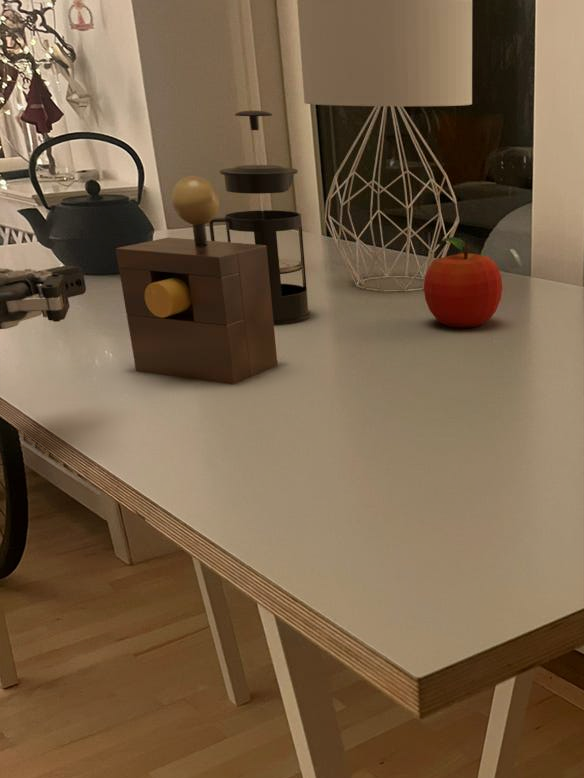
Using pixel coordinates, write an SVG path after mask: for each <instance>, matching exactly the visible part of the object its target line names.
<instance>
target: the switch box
mask: <svg viewBox="0 0 584 778" xmlns="http://www.w3.org/2000/svg"><path fill="white" fill-rule="evenodd" d="M171 201H172V207H173V209H174V211H175V212H176V214H177V216H178V217H179V218H180V219H181V220H182V221H184V222H185V223H187V224H189V225H192V232H193V238H192V239H191V238H181V237H164V238H158V239H153V240H150V241H145V242H140V243H135V244H130V245H125V246H120V247H116V248H115V253H116V254H115V255H116V259H117V265H118V271H119V277H120V283H121V290H122V295H123V302H124V307H125V313H126V320H127V326H128V331H129V337H130V342H131V351H132V357H133V361H134V367H135V371H136V372H137V373H145V374H152V375H160V376H167V377H175V378H182V379H190V380H197V381H204V382H205V381H206V382H210V383H211V382H212V383H220V384H227V385H236V384H239V383H241V382H243V381H246V380H248V379H250V378H253V377H255V376H256V375H259V374H261V373H264V372H266V371H268V370H271V369H274V368H275V367H278V357H277V355H278V353H277V345H276V334H275V325H274V322H273V311H272V301H271V290H270V279H269V269H268V258H267V247H266V245H257V244H255V243H242V242H228V241H216V240H215V241H211V240H208V238H207V231H206V224H209V222H210V221H211V220H213V219H214V218H216V216H217V214H218V212H219V208H220V200H219V194H218V192H217V190H216V189H215V187H214V186H213V184H211V182H210V181H209V180H207V179H205V178H203V177H201V176H198V175H189V176H185V177H182V178H181V179H180V180H178V182H177V183H176V184H175V185H174V187H173V190H172V194H171ZM170 278H178V279H181V280H182V281H183V282H184V283H185V284H186V285H187V286H188V288H189V290H190V293H191V304H190V307H189V308H188V309H187V310H186V311H183V312H180V313H177V314H174V315H171V316H167V317H163V318H161V317H158V316H156V315H154V314H153V313H152V312H151V311H150V310H149V308H148V307H147V305H146V302H145V290H146V288H147V286H148V285H149V284H151V283H154V282H158V281H162V280H166V279H170Z"/></svg>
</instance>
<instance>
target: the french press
mask: <svg viewBox="0 0 584 778" xmlns="http://www.w3.org/2000/svg"><path fill="white" fill-rule="evenodd" d="M234 116H236V117H248V118H249V124H250V125H249V126H250V131H253V140H254V141H253V142H254V150H255V162H256V164H249V165H248V164H247V165H238V166H235V167H230V168H223V169H220V170H219V174H220V175H223V176H224V185H225V191H226V192H229V193H232V194H233V193H235V194H252V195H254V194H255V195H256V194H258V195H259V201H260V203H259V205H260V210H244V211H234V212H230V213H226V214H225V215H224V216H223V217H222V216H221V217H219V216H218V217H214V219H213V220H211V221H210V222H209V223H208V229H209V235H210V241H216V240H215V239H216V238H215V231H214V223H225V229H226V237H227V242H231V241H232V240H231V234H230V233H231V232H230V231H234V232H235V231H236V232H246V233H247V232H249V233H253V239H254V244H257V245H266V247H267V258H268V269H269V279H270V290H271V301H272V311H273V322H274V326H285V325H286V326H287V325H293V324H298V323H302V322H305V321H308V320H309V319H310V318H311V311H310V310H309V301H308V289H307V287H308V286H307V277H306V276H307V275H306V262H305V250H304V249H305V248H304V239H303V237H304V236H303V225H302V214H301V213H300V212H297V211H291V210H290V211H289V210H277V209H276V210H272V209H271V210H269V209H267V210H266V209H265V203H264V194H279V193H280V194H281V193H286V192H288V191H289V190H290V188H291V186H292V185H293V180H294V177H295V175H296V174H298V169H297V168H292V167H283V166H280V165H275V164H273V165H272V164H261V163H260V162H261V161H260V151H259V140H258V131H259V130H260V124H259V123H260V122H259V117H272V116H273V114H272V113H271V112H268V111H266V110H265V111H264V110H242V111H238V112H236V113H234ZM292 230H298V239H299V253H300V260H297V259H291V258H279V245H278V237H277V236H278V235H277V232H284V231H292ZM231 243H232V242H231ZM299 271H301V276H302V277H301V278H302V285H299V284H294V283H293V284H292V283H282V280H281V275H286V274H291V273H295V272H299Z"/></svg>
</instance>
